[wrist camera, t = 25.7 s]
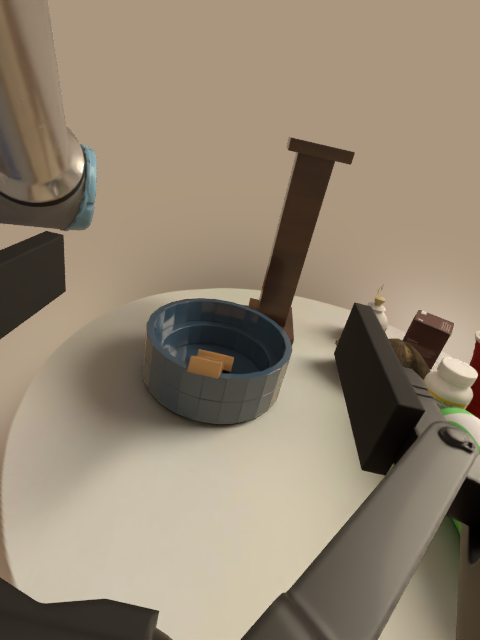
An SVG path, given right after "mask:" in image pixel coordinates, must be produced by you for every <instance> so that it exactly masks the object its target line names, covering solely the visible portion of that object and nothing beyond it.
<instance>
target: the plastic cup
mask: <svg viewBox="0 0 480 640" xmlns="http://www.w3.org/2000/svg"><path fill="white" fill-rule="evenodd" d="M475 339H476V343H475V349H474V353H473V357H472V360H471V362H470V366H471V367H473V368H474V369H475V370H476V371H477V373H478V377H477V379H476V380H475V382H474V384H473V385H472V386H471V387H470V388H471V389H472V392H473V398H472V400H471V401H470V403H469V405H468V406H467V408H466V409H465V410H466V411H468V412H470V413H471V414H473V415H474V416H475V417H477V418H478V419H480V330H479V331H476V332H475Z"/></svg>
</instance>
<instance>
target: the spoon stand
mask: <svg viewBox="0 0 480 640" xmlns="http://www.w3.org/2000/svg"><path fill="white" fill-rule="evenodd" d="M287 148H288V150H290V151H294V152H296V156H295V160H294V165H293V168H292V172H291V176H290V180H289V184H288V188H287V192H286V196H285V200H284V204H283V207H282V212H281V216H280V220H279V224H278V227H277V232H276V235H275V239H274V243H273V247H272V251H271V256H270V259H269V263H268V267H267V271H266V275H265V279H264V283H263V286H262V290H261V294H260V298H259V300H257V299H252V298H250V302H249V306H248V307H249V308H251V309H253V310H256V311H258V312H260V313H262V314H264V315H265V316H267V317H268V318H270V319H272V320H273V321H275V322H276V323H277V324H278V325H279V326H280V327H281V328H282V329H283V330H284V331H285V333H286V334H287V336H288V337H289V339H290V342H291V347H292V344H293V341H294V335H293V319H292V307H291V304H292V301H293V297H294V294H295V291H296V288H297V284H298V280H299V278H300V274H301V271H302V268H303V265H304V261H305V258H306V255H307V251H308V248H309V245H310V242H311V238H312V234H313V232H314V228H315V225H316V222H317V218H318V215H319V212H320V209H321V205H322V202H323V199H324V196H325V192H326V189H327V186H328V182H329V179H330V176H331V173H332V169H333V166H334V163H335V161H338V162H342V163H346V164H351V163H352V160H353V157H354V152H351V151H347V150H342V149H338V148H334V147H329V146H325V145H320V144H316V143H312V142H308V141H304V140H299V139H295V138H291V137H289V139H288V143H287Z"/></svg>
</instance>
